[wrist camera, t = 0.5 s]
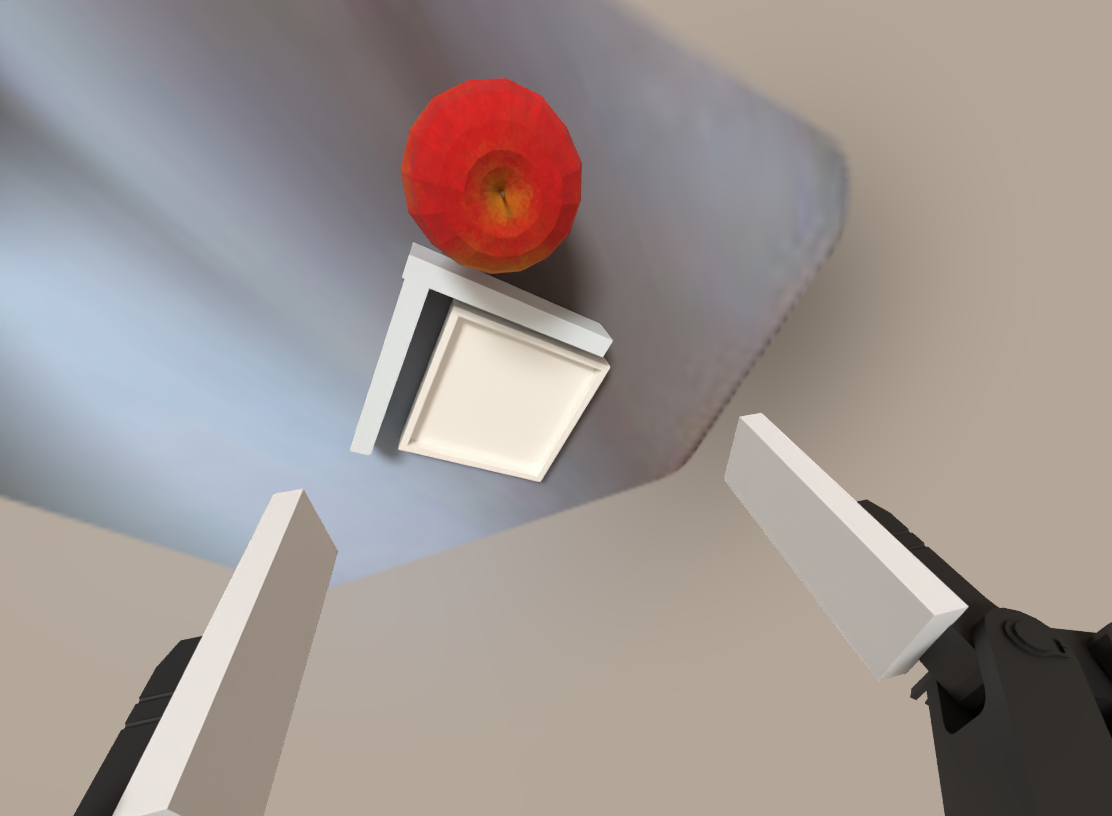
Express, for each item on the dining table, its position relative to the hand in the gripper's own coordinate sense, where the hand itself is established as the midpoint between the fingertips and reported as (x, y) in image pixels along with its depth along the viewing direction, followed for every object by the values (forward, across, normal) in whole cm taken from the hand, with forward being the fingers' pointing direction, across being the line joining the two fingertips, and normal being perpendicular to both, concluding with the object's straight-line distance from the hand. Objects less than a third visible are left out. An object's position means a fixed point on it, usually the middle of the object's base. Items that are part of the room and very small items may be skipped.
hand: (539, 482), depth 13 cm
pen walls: (+23, -2, -9) cm, 25 cm away
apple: (+23, +1, +7) cm, 24 cm away
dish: (+23, 0, -11) cm, 26 cm away
